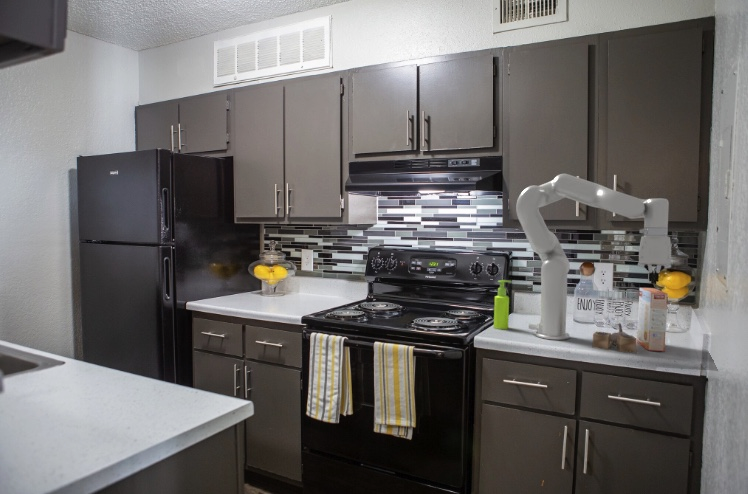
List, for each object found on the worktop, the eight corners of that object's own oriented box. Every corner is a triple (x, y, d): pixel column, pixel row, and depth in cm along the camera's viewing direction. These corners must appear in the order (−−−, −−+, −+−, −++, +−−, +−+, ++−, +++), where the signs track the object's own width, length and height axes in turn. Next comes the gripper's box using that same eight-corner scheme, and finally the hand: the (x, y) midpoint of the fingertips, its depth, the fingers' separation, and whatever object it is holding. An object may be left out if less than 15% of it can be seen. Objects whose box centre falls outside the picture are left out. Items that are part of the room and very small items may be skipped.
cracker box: (665, 352, 187) (668, 292, 186) (647, 351, 189) (650, 292, 187) (653, 342, 201) (656, 287, 200) (636, 341, 202) (638, 287, 201)
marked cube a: (620, 351, 187) (621, 336, 187) (616, 348, 192) (617, 333, 192) (635, 352, 186) (636, 337, 186) (631, 349, 191) (632, 334, 191)
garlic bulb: (611, 346, 195) (611, 324, 195) (606, 341, 203) (607, 320, 202) (633, 347, 194) (634, 325, 193) (628, 342, 201) (629, 321, 200)
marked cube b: (592, 347, 193) (593, 333, 193) (595, 344, 197) (596, 330, 197) (607, 349, 190) (608, 335, 190) (610, 347, 194) (610, 332, 194)
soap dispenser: (512, 329, 222) (514, 281, 221) (496, 329, 221) (498, 281, 220) (507, 326, 228) (508, 279, 227) (491, 326, 227) (492, 279, 226)
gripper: (632, 232, 192) (630, 283, 193) (680, 233, 186) (678, 286, 187) (632, 232, 199) (630, 281, 200) (678, 233, 193) (676, 283, 194)
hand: (653, 283), depth 193 cm, fingers closed
